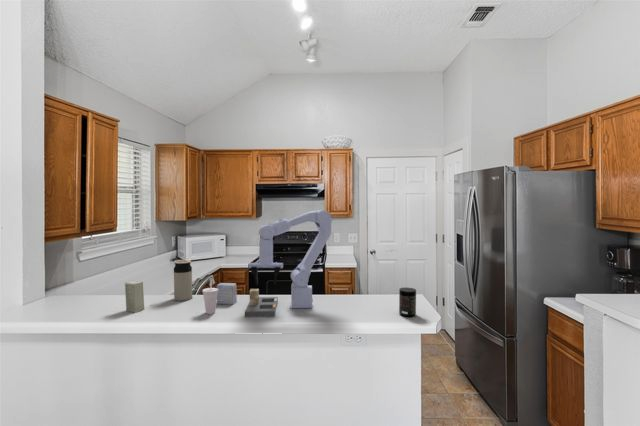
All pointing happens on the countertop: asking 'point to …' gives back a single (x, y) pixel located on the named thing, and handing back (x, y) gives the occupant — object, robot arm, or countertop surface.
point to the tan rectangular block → (254, 296)
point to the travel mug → (182, 280)
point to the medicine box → (226, 293)
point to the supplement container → (407, 302)
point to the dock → (262, 307)
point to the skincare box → (134, 296)
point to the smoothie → (210, 298)
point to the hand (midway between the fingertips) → (265, 284)
